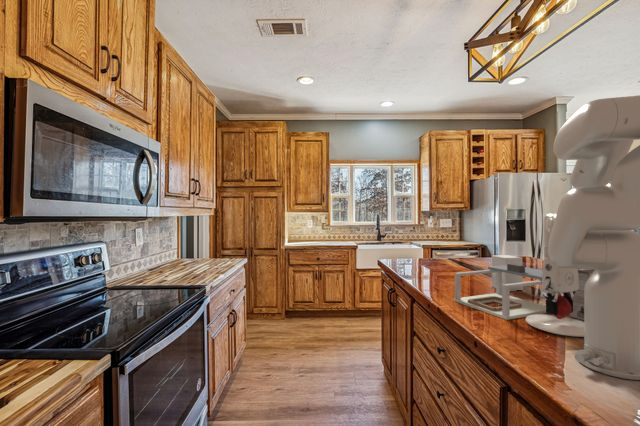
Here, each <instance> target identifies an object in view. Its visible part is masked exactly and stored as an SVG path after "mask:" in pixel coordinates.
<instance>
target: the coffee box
mask: <svg viewBox="0 0 640 426" xmlns="http://www.w3.org/2000/svg"><path fill="white" fill-rule="evenodd" d="M594 271H595V270H594V269H578V276H579V289H578V290H577V291H575V294H574V299H572V300H573V313H570V314H569V316H570V317H571V318H573V319H574V318H575V319H577V318H578V319H577V320H580V319H581V320H582V321H583V320H584V288H585V284H586V281H587V280H588V278H589V277H590V276H591V274H592V273H593V272H594ZM581 320H580V321H581Z"/></svg>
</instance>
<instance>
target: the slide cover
mask: <svg viewBox="0 0 640 426" xmlns="http://www.w3.org/2000/svg"><path fill="white" fill-rule="evenodd" d="M487 270H495V271H500V272H505V273H510V274H515V275H520V276H523V277H524V278H529V279H530V278H531V279H535V280H542V272H543V269H539V268H531V267H527V266H526V265H523V264H522V265H519V264H507V265H502V266H492V265H491V266H487Z"/></svg>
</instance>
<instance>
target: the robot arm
mask: <svg viewBox="0 0 640 426" xmlns="http://www.w3.org/2000/svg"><path fill="white" fill-rule="evenodd" d="M636 140H638V141H639V140H640V95H638V94H637V95H629V96H615V97H606V98H599V99H598V98H597V99H593V100H591V101H589V102H587V103H586V104H583V106H581V107H580V108H579V109H578V110H577V111H576V112H575V113H574V114H573V115H572V116H570V117H569V119H567V120H566V122H564V124H562V126H561V127H560V129H559V130H558V131H557V133H556V135H555V137H554V142H553V147H552V148H553V153H554V156H556V158H557V159H559V160H563V161H569V160H574V161H575V160H576V162H575V164H574V167H573V170H572V172H571V175H570V177H569V182H570V183H569V184H570V185H571V186H572V187H573V188H572V189H569V190H568V191H567V192H566V193H565V194H564V195H563V196H562V198H561V200H560V201H559V204H558V207H557V211H556V212H553V213H551V212H550V213H546V214H545V215H544V218H543V258H544V259H543V264H542V270H543V272H542V284H541V287H540V289H539V292H540V293H541V294H542V295H543V297H544V300H545V306H546V312H547V313H546V314H548V315H552V314H553V315H558V302H556V301H557V297H558V293H561V295H562V296H563V297H564V298H566V299H567V300H568V301H569V303H570V304H571V307H572V311H571V313H573V300H572V299H574V294H575V291H577V290H578V289H579V276H578V269H594V270H595V271H594V272H593V273H592V274H591V276H590V277H589V278H588V280H587V281H586V284H585V288H584V321H583V322H584V337H583V340H584V341H583V342H584V343H583V349H579V350H576V352H575V354H574V356H573V357H574V359H575V361H577V362H578V363H580V364H582V365H583V366H585V367H586V368H589V369H591V370H593V371H596V372H598V373H601V374H604V375H607V376H611V377H615V378H620V379H626V380H633V381H640V234H639V232H636V231H637V230H640V144H639V145H638V146H635V148H633V149H632V150H631V148H632V145H633V143H634V141H636ZM553 290H554V291H553ZM550 292H551V293H554V294H553V296H552V294H551V293H550Z"/></svg>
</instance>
